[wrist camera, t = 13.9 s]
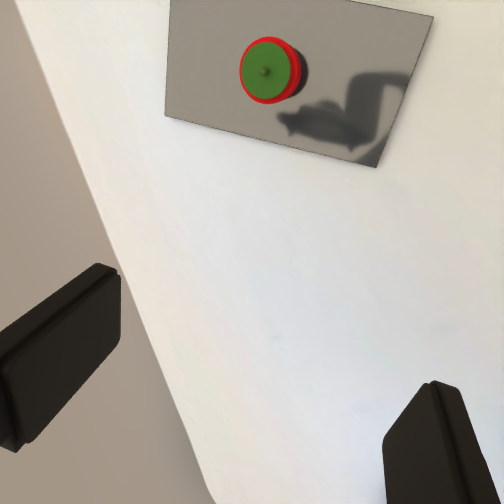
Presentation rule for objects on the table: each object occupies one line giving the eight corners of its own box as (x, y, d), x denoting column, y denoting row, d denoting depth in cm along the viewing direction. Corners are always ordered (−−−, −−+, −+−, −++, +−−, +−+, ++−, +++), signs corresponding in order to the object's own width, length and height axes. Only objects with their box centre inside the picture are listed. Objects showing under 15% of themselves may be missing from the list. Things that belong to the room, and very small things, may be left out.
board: (430, 19, 24) (434, 16, 23) (374, 165, 30) (376, 168, 29) (178, -30, 26) (171, -34, 25) (169, 114, 32) (164, 115, 31)
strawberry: (310, 48, 26) (301, 40, 20) (296, 105, 28) (285, 112, 22) (259, 37, 26) (237, 26, 21) (249, 94, 28) (226, 98, 23)
